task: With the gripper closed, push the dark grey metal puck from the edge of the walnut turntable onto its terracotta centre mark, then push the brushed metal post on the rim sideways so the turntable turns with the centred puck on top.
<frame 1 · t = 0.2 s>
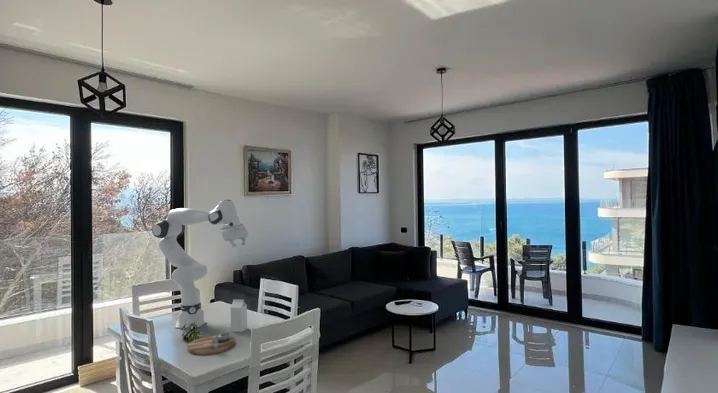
hand: (239, 246, 246), 52 cm above the table, tool tilted 20°, fingers open, 8 cm apart
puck: (222, 340, 223), point 3 cm above the table, touching turntable
turntable: (211, 338, 220), point 4 cm above the table, hinge at 0.0°, touching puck
milk carton: (239, 330, 247), on the table
passion flower: (191, 339, 233), on the table
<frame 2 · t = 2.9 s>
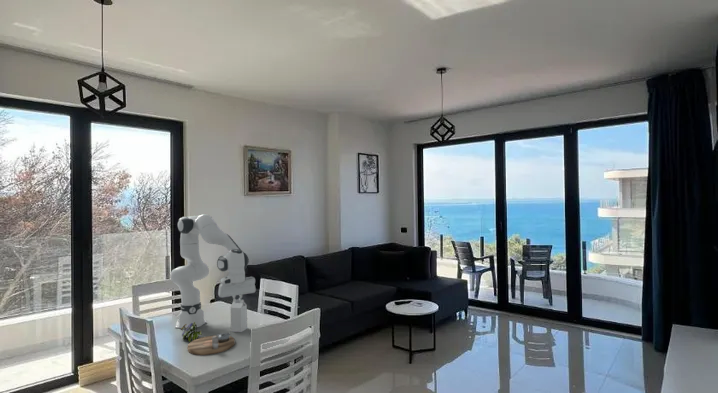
hand: (237, 302, 227), 22 cm above the table, tool pointing down, fingers closed
nothing on the table moved.
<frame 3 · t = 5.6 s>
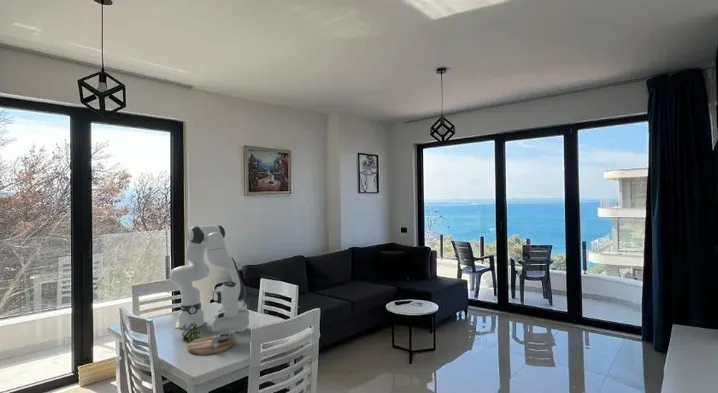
hand: (230, 336, 226), 4 cm above the table, tool pointing down, fingers closed
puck: (221, 340, 223), point 3 cm above the table, touching gripper
turntable: (211, 338, 220), point 4 cm above the table, hinge at 0.0°
everything else where it was.
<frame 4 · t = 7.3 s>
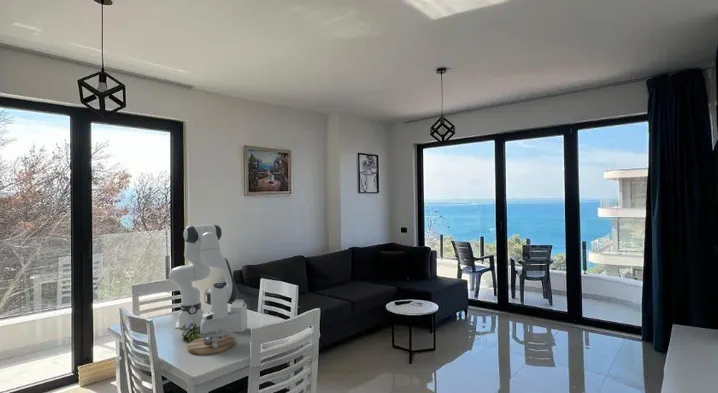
hand: (220, 338, 222), 4 cm above the table, tool pointing down, fingers closed
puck: (210, 342, 220), point 3 cm above the table, touching turntable
turntable: (211, 338, 220), point 4 cm above the table, hinge at 0.0°, touching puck
everything else where it was.
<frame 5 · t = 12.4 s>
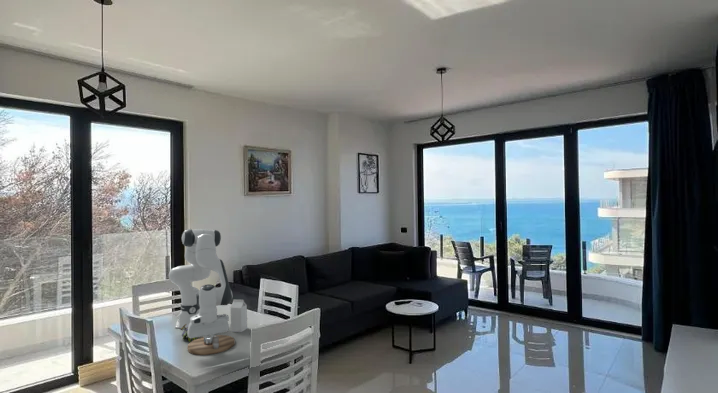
hand: (208, 343, 211), 6 cm above the table, tool pointing down, fingers closed
turntable: (211, 338, 220), point 4 cm above the table, hinge at 1.6°, touching gripper, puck
everything else where it was.
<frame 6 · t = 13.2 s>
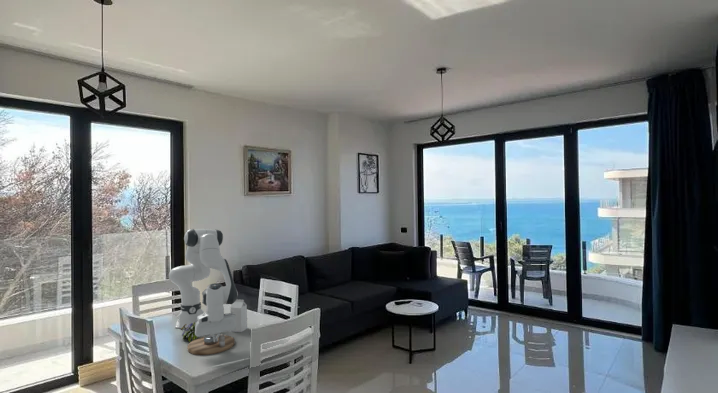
hand: (215, 341, 213), 6 cm above the table, tool pointing down, fingers closed
turntable: (211, 338, 220), point 4 cm above the table, hinge at 20.3°, touching gripper, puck
everything else where it was.
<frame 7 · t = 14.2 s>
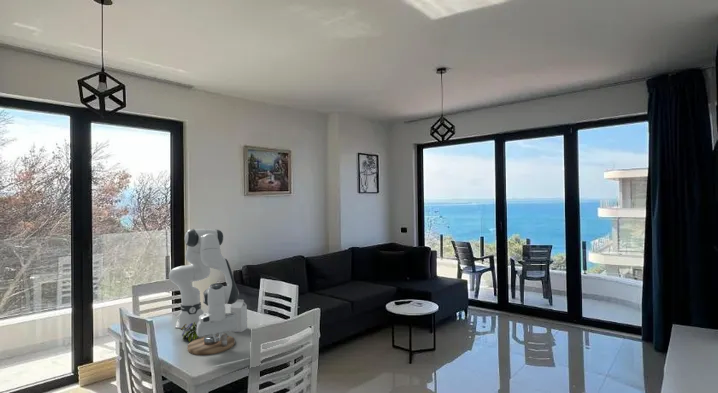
hand: (217, 341, 213), 6 cm above the table, tool pointing down, fingers closed
turntable: (211, 338, 220), point 4 cm above the table, hinge at 29.0°, touching gripper, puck
everything else where it was.
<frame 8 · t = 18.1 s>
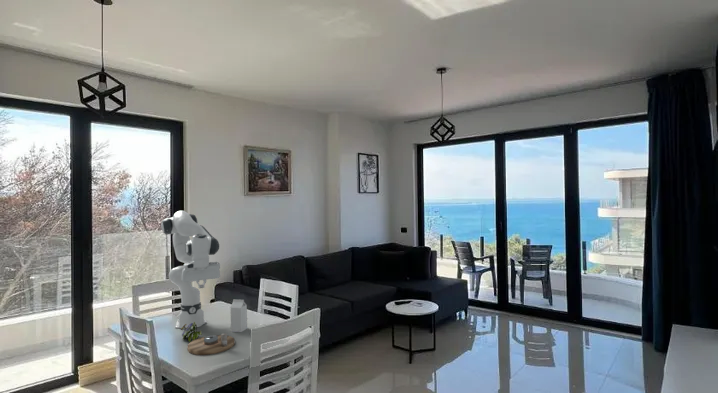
hand: (201, 288, 226), 31 cm above the table, tool pointing down, fingers closed
turntable: (211, 338, 220), point 4 cm above the table, hinge at 29.0°, touching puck
everything else where it was.
at the end: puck 0.4 cm from the turntable (horizontally); turntable at +29° (first picture: +0°); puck point 2.5 cm above the table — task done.
